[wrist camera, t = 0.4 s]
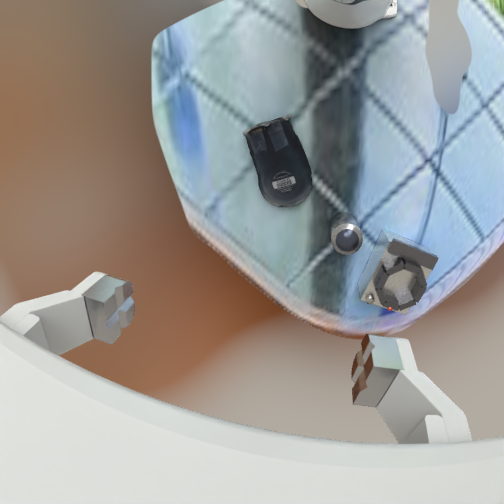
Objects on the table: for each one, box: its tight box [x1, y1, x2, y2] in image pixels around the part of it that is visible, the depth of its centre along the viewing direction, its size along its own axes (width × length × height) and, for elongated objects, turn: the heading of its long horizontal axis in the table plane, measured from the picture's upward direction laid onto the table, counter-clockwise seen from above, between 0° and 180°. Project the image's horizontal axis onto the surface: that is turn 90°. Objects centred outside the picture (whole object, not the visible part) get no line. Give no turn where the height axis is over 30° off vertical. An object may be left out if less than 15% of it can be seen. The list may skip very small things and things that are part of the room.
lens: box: [330, 212, 363, 255], centre depth 50 cm, size 5×5×7 cm
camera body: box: [357, 229, 438, 315], centre depth 50 cm, size 13×10×9 cm
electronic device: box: [243, 115, 312, 207], centre depth 50 cm, size 9×6×15 cm
